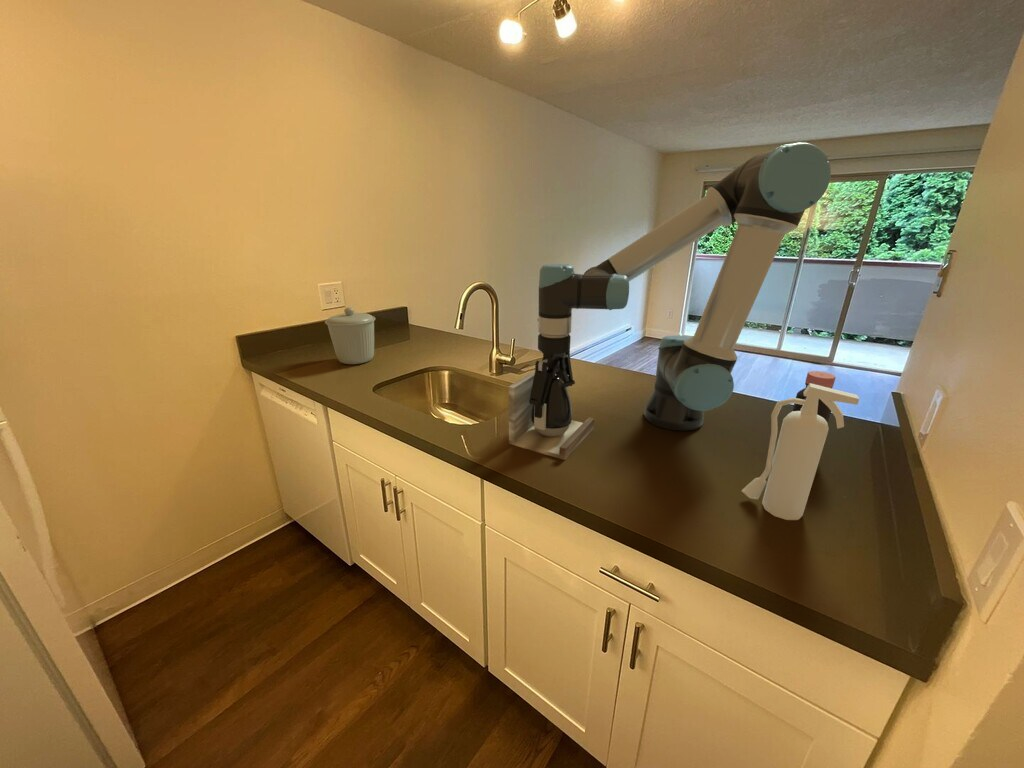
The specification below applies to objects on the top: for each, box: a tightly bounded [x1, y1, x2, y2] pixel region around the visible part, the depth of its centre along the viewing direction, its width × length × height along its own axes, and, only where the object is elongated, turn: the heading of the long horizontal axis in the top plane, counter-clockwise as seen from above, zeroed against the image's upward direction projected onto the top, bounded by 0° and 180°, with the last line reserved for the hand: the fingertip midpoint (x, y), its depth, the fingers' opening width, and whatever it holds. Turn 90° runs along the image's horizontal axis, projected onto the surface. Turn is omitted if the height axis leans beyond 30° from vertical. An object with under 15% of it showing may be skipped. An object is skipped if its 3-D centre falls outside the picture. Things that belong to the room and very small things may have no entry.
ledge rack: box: [507, 370, 595, 461], centre depth 103 cm, size 15×18×15 cm
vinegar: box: [791, 370, 836, 425], centre depth 92 cm, size 7×7×20 cm
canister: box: [324, 306, 376, 365], centre depth 161 cm, size 18×18×21 cm
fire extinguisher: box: [741, 383, 860, 521], centre depth 74 cm, size 7×12×25 cm, turn 57°
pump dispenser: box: [531, 374, 576, 437], centre depth 103 cm, size 10×10×15 cm
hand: (551, 418), depth 104 cm, fingers open, 12 cm apart
